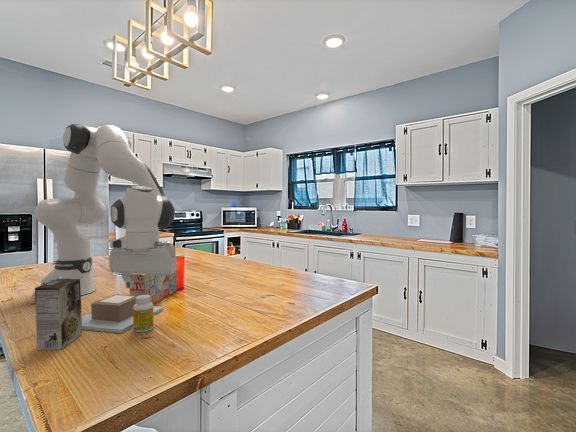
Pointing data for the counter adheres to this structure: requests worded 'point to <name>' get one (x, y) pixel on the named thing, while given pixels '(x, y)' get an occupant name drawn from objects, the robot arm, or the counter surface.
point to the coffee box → (58, 313)
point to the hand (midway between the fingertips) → (144, 288)
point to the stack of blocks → (146, 285)
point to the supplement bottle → (143, 314)
